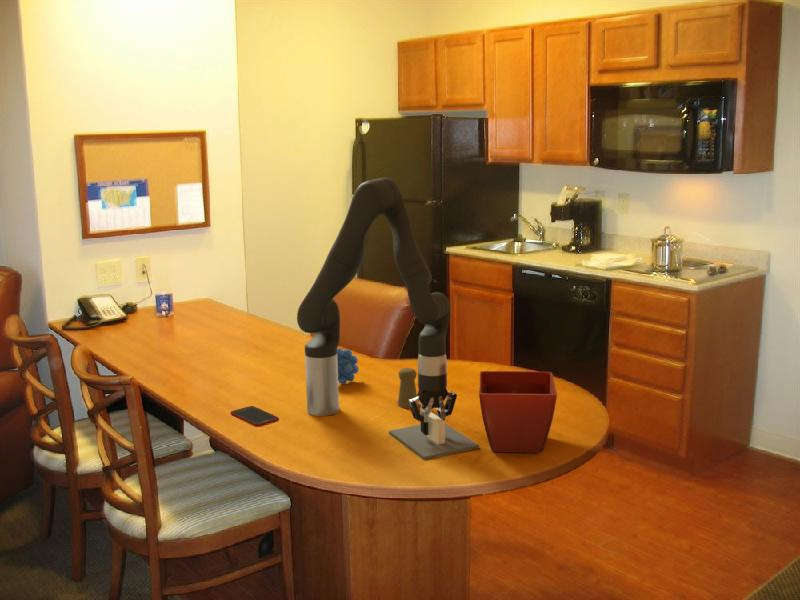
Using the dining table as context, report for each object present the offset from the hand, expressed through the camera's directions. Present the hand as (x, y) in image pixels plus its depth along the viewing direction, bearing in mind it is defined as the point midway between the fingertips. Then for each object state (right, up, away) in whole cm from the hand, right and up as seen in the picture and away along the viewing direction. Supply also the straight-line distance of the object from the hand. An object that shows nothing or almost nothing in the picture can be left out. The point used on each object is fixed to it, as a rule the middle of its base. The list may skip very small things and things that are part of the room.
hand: (432, 432), depth 225 cm
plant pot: (+21, -3, -2) cm, 22 cm away
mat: (0, -2, 0) cm, 2 cm away
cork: (-6, +4, +28) cm, 29 cm away
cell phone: (-50, +1, +20) cm, 54 cm away
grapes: (-26, +8, +47) cm, 54 cm away
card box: (0, -1, 0) cm, 1 cm away
